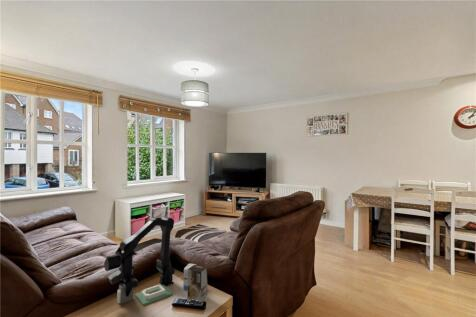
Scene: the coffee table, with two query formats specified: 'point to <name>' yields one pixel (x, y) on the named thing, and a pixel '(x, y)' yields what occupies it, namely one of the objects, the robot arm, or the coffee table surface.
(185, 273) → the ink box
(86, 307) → the coffee table surface
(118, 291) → the plug
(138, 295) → the dock
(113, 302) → the coffee table surface
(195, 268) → the coffee box
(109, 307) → the coffee table surface
